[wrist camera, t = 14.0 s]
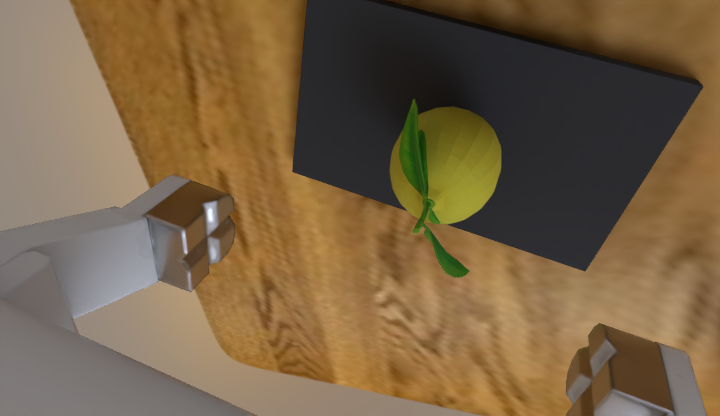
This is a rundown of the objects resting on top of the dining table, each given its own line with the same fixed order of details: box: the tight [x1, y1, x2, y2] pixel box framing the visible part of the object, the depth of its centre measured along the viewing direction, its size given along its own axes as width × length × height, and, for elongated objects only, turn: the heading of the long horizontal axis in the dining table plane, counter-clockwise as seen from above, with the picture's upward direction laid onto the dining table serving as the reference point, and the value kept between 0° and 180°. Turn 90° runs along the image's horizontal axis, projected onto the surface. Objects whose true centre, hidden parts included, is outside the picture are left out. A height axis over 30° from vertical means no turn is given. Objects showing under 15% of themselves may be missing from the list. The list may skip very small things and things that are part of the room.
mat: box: [292, 0, 703, 271], centre depth 26 cm, size 20×12×1 cm, turn 80°
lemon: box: [390, 99, 501, 278], centre depth 22 cm, size 7×6×10 cm
